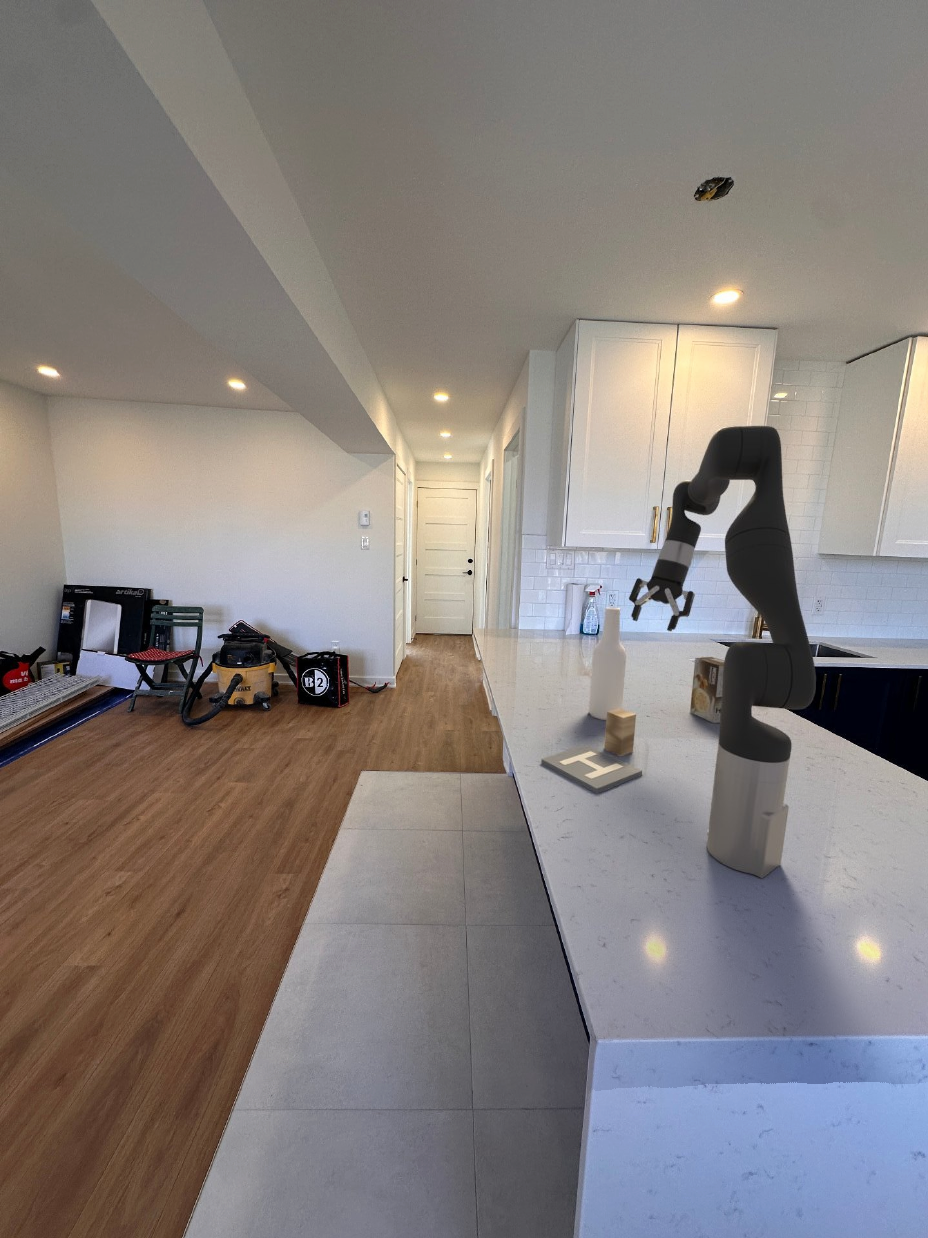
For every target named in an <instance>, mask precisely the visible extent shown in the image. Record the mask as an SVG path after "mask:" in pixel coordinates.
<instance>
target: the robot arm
mask: <svg viewBox="0 0 928 1238" xmlns="http://www.w3.org/2000/svg"><path fill="white" fill-rule="evenodd" d="M782 460H783V459H782V441H781V437H780V434H779V432H778V430H777V428H775V427H773V426H770V425H729V426H725V427H721V428H720V429H718V430H717V431H716V432H714V434H712V437H711V438H710V440H709V442H708V444H707V447H706V449H705V452H704V454H703V457H702V461H701V463H700V466H699V469H698V471H697V473H696V474H695V476H694V477H693V478H692V479H691V480H688V479H685V480H682V481H680V482H679V483H678V484H677V485H676V487H674V490H673V493H672V507H671V508H672V510H671V511H672V513H671V520H670V526H669V528H668V532H667V533H666V534H667V535H666V537H665V541H664V542H663V545H662V547H661V548H660V551H659V553H658V557H657V560H656V563H655V566H654V569H653V572H652V575H651V577H650V579H649V580H648V581H646V580H643V579H642V578H640V577H638V578H636V579H635V582H634V585H633V587H632V590H631V592H630V595H629V596H628V597H629V598H628V599H629V601H630V602H632V603H633V604H634V605H633V606H634V607H633V608H632V609H633V610H632V612H631V618H632V621H635V622H638V620H639V617H640V614H641V611H642V608H643V607H642V606H644V605H645V604H647V603H648V602H650V601H651V600H652V601H653V602H657V603H662V604H664V605H669V606H670V607H671V610H672V613H673V614H672V615H671V616H670V620H669V623H668V626H667V628H666V631H668V632H673V630H674V631H675V630H676V627H677V625H678V622H679V619H680V618H682V617H683V618H684V617H686V618H688V617H689V616H690V614H691V611H692V608H693V607H692V606H693V604H694V600H695V597H696V594H695V593H694V592H693V591H692V590H689V591H688V590H687V591H686V590H683V588H684V587H683V586H684V584H685V581H686V578H687V575H688V573H689V569H690V567H691V566H692V561H693V558H694V555H695V554H694V553H695V549H696V546H697V543H698V541H699V538H700V535H701V532H702V527H701V525H700V524H699V523H697V521H694V520H692V519H691V518H689V517H688V516H687V515H686V512H688V513H693V514H697V515H699V516H700V515H701V516H709V515H712V514H714V512H715V511H716V510H717V508H718V507H719V503H720V501H721V496H722V495H723V494H724V493H725V492H726V491H727V489H728V488H729V485H730V483H731V481H753V483H754V486H755V487H754V489H755V490H754V492H753V494H752V495H751V498H750V499H749V501H748V503H746V505H745V506H744V507H743V509H742V510H741V511H740V512H739V513H738V514H737V516H736V517H735V518H734V520H733V522H732V523H731V524H730V525H729V528H728V529H727V532H726V535H725V537H724V553H725V563H726V564H725V565H726V572H727V574H728V577H729V579H730V581H731V582H732V584H733V585H734V587H735V588H736V590H737V591H738V592H739V593H740V594H741V595H742V596H743V597H744V598H745V599H746V600H747V602H748V603H749V604H750V605H751V606H752V607H753V608H754V609H755V611H756V612H757V613H758V614H759V615H760V617H761V618H762V620H763V622H764V624H765V625H766V627H767V630H768V632H769V635H770V637H771V641H772V643H770V642H755V641H753V642H752V641H736V642H734V643H732V644H730V646H729V647H728V649H727V651H726V653H725V657H724V668H723V685H722V703H721V714H720V722H719V735H718V743H717V753H716V761H715V769H714V777H713V778H714V779H713V786H712V795H711V803H710V811H709V820H708V830H707V835H706V836H707V839H706V849H707V851H708V853H709V854H710V855H711V856H712V857H713V859H715V860H717V861H718V862H719V863H721V864H723V865H724V866H726V867H729V868H730V869H733V870H735V871H736V870H737V871H739V872H743V873H746V874H751V875H754V876H757V877H758V878H760V879H763V878H764V877H766V876H767V875H768V874H770V873H771V872H772V871H774V870H775V869H776V868H777V867H778V866H780V865H781V864H782V857H783V851H784V843H785V837H786V829H787V823H788V822H787V821H788V815H789V808H790V807H789V805H788V804H787V803H785V802H784V801H785V797H786V789H787V788H786V787H787V781H788V773H789V766H790V760H791V759H790V758H791V753H792V747H793V746H792V744H793V743H792V739H791V738H790V737H789V735H787V734H786V733H785V732H784V731H782V730H781V729H779V728H777V727H775V726H773V725H771V724H767V723H766V722H763V721H762V720H759V719H757V718H755V717H754V716H753V715H752V711H753V710H752V708H753V707H760V708H761V707H762V708H771V709H784V710H786V709H787V710H803V709H806V708H807V707H809V706H810V705H811V703H812V702H813V700H814V697H815V694H816V688H817V687H816V686H817V685H816V684H817V683H816V682H817V675H816V668H815V661H814V657H813V652H812V649H811V645H810V641H809V640H810V639H809V637H808V632H807V629H806V625H805V621H804V619H803V618H804V617H803V614H802V611H801V610H802V609H801V606H800V601H799V595H798V589H797V582H796V581H797V580H796V574H795V562H794V554H793V553H794V552H793V545H792V539H791V535H790V528H789V524H788V519H787V513H786V505H785V499H784V498H785V497H784V486H783V485H784V484H783V462H782ZM685 511H686V512H685ZM645 587H646V588H647V592H645V593H644V594H643V595H642V596H641V597H639V598H638V596H639V595H640V593H641V589H642V590H643V589H644V588H645ZM681 596H683V599H684V600H685V601H684V604H683V605H684V606H683V609H682V610H680V609H679V605H678V603H677V599H678V598H679V599H680V597H681Z"/></svg>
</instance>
